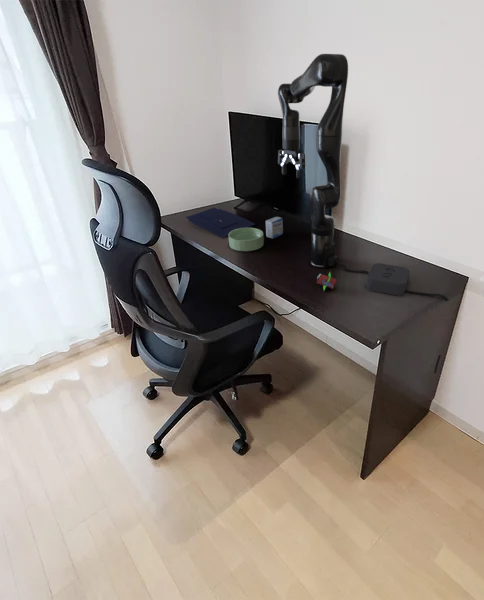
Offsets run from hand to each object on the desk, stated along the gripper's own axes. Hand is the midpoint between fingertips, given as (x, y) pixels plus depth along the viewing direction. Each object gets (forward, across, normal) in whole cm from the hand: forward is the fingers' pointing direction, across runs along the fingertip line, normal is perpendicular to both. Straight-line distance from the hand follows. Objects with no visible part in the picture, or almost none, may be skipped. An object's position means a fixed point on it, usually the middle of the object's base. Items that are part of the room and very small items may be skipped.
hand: (291, 176), depth 166 cm
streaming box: (+30, +59, -10) cm, 67 cm away
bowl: (+30, -11, -20) cm, 38 cm away
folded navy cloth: (+30, -41, -12) cm, 52 cm away
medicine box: (+30, -9, -3) cm, 32 cm away
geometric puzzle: (+30, +43, -28) cm, 60 cm away
